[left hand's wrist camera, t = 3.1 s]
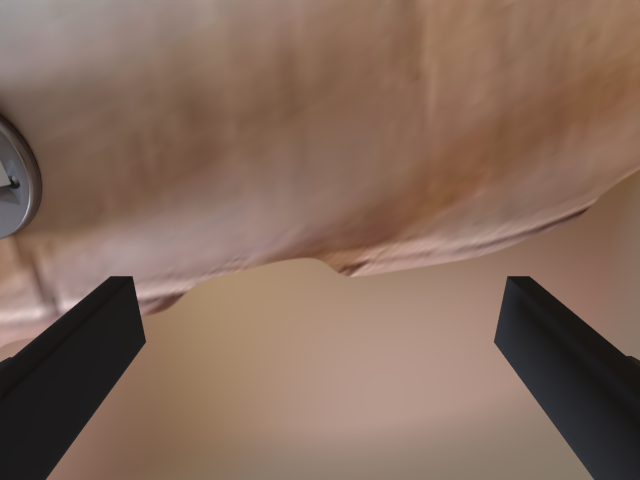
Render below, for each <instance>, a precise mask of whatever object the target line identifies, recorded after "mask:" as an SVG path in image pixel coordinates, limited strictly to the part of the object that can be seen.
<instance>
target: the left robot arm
mask: <svg viewBox="0 0 640 480" xmlns="http://www.w3.org/2000/svg"><path fill="white" fill-rule="evenodd" d="M41 193H42V186H41V178H40V173H39V170H38V166H37V164H36V161H35V159H34V156H33V155H32V153H31V151H30V149H29V147H28V146H27V144H26V143H25V141H24V140H23V138H22V137H21V136H20V135H19V133H18V132H17V131H16V130H15V129H14V128H13V127H12V126H11V125H10V124H9V123H8V122H7V121H6V120H5V119H3V118H2V117H1V116H0V239H3V238H5V237H7V236H10V235H12V234H14V233H16V232H18V231H20V230H22V229H23V228H24V227H26V226H27V225H28V224H29V223H30V222H31V221H32V219H33V218H34V216H35V215H36V213H37V211H38V208H39V205H40V201H41ZM145 343H146V340H145V335H144V330H143V325H142V320H141V315H140V310H139V306H138V301H137V296H136V291H135V286H134V281H133V276H110V277H109V278H108V279H107V280H106V281H104V282H103V283H102V284H101V285H99V286H98V287H97V288H96V289H95V290H93V291H92V292H91V293H90V294H89V295H87V296H86V297H85V298H84V299H83V300H81V301H80V302H79V303H78V304H76V305H75V306H74V307H73V308H72V309H70V310H69V311H68V312H67V313H66V314H64V315H63V316H62V317H61V318H60V319H58V320H57V321H56V322H55V323H53V324H52V325H51V326H50V327H49V328H47V329H46V330H45V331H44V332H43V333H41V334H40V335H39V336H38V337H37V338H35V339H34V340H33V341H32V342H30V343H29V344H28V345H27V346H26V347H24V348H23V349H22V350H21V351H20V352H18V353H17V354H16V355H15V356H14V357H9V358H7V359H5V360H3V361H2V362H0V480H46V479H47V477H48V476H49V474H50V473H51V472H52V470H53V469H54V468H55V466H56V465H57V463H58V462H59V461H60V459H61V458H62V457H63V455H64V454H65V452H66V451H67V450H68V448H69V447H70V445H71V444H72V443H73V441H74V440H75V439H76V437H77V436H78V435H79V433H80V432H81V431H82V429H83V428H84V426H85V425H86V424H87V422H88V421H89V420H90V418H91V417H92V415H93V414H94V413H95V411H96V410H97V409H98V407H99V406H100V404H101V403H102V402H103V400H104V399H105V398H106V396H107V395H108V393H109V392H110V391H111V389H112V388H113V387H114V385H115V384H116V382H117V381H118V380H119V378H120V377H121V376H122V374H123V373H124V372H125V370H126V369H127V367H128V366H129V365H130V363H131V362H132V360H133V359H134V358H135V356H136V355H137V354H138V352H139V351H140V350H141V348H142V347H143V345H144V344H145ZM494 343H495V344H496V345H497V347H498V348H499V350H500V351H501V352H502V354H503V355H504V356H505V358H506V359H507V360H508V362H509V363H510V365H511V366H512V367H513V369H514V370H515V372H516V373H517V374H518V376H519V377H520V378H521V380H522V381H523V383H524V384H525V385H526V387H527V388H528V389H529V391H530V392H531V394H532V395H533V396H534V398H535V399H536V400H537V402H538V403H539V404H540V406H541V407H542V409H543V410H544V411H545V413H546V414H547V415H548V417H549V418H550V420H551V421H552V422H553V424H554V425H555V426H556V428H557V429H558V430H559V432H560V433H561V435H562V436H563V437H564V439H565V440H566V442H567V443H568V444H569V446H570V447H571V448H572V450H573V451H574V452H575V454H576V455H577V457H578V458H579V459H580V461H581V462H582V463H583V465H584V466H585V468H586V469H587V470H588V472H589V473H590V474H591V476H592V477H593V479H594V480H640V361H639V360H638V359H636V358H634V357H632V356H625V355H624V354H623V353H622V352H620V351H619V350H618V349H617V348H616V347H614V346H613V345H612V344H611V343H610V342H608V341H607V340H606V339H605V338H603V337H602V336H601V335H600V334H599V333H597V332H596V331H595V330H594V329H593V328H591V327H590V326H589V325H588V324H586V323H585V322H584V321H583V320H582V319H580V318H579V317H578V316H577V315H576V314H574V313H573V312H572V311H571V310H570V309H568V308H567V307H566V306H565V305H564V304H562V303H561V302H560V301H559V300H557V299H556V298H555V297H554V296H553V295H551V294H550V293H549V292H548V291H547V290H545V289H544V288H543V287H542V286H541V285H539V284H538V283H537V282H536V281H534V280H533V279H532V278H531V277H530V276H508V277H507V281H506V286H505V291H504V296H503V301H502V306H501V311H500V315H499V320H498V325H497V330H496V335H495V339H494Z"/></svg>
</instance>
